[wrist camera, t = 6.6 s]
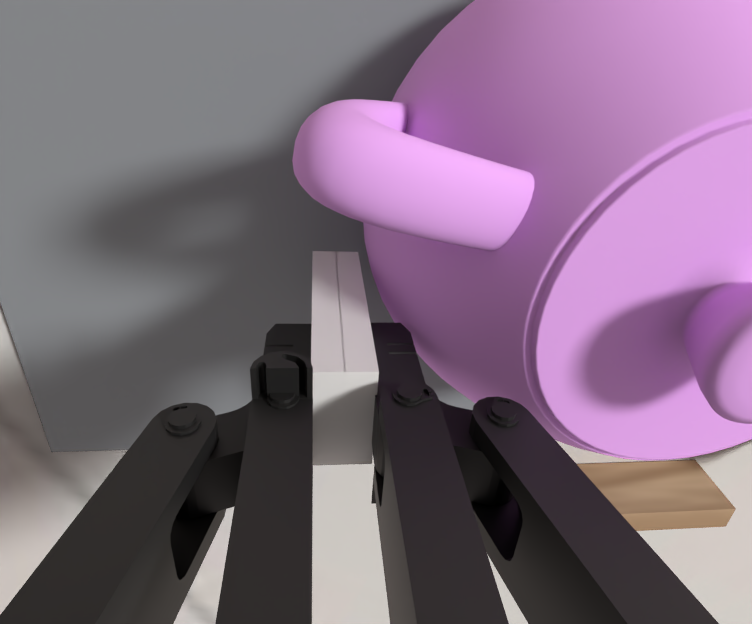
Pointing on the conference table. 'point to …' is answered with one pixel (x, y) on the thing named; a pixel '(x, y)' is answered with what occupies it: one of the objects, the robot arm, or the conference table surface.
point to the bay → (661, 494)
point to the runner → (174, 192)
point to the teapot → (567, 214)
